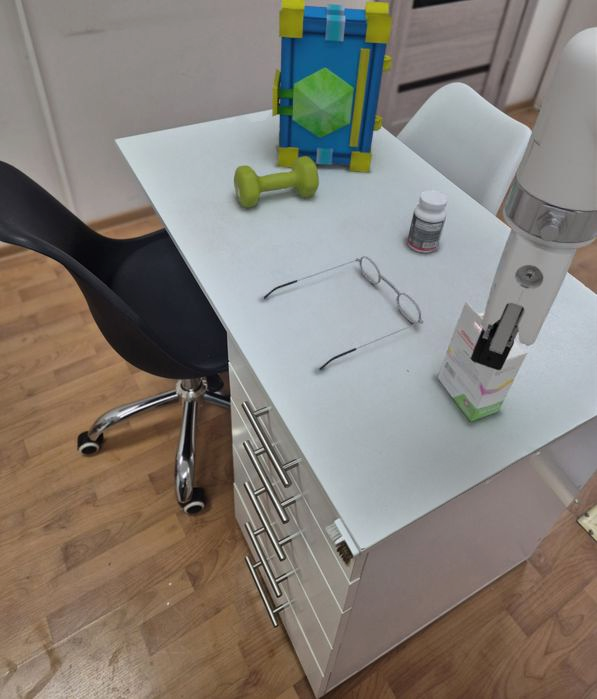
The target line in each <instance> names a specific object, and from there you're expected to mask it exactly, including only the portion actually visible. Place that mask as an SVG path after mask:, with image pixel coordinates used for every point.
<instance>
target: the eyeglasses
mask: <svg viewBox="0 0 597 699" xmlns="http://www.w3.org/2000/svg"><path fill="white" fill-rule="evenodd" d="M363 259H366V260H368V262H370V263H371V264H372V265H373V267H374V268H375V270H376V272H377V275H378V279H377V282H376V281H373V280H371V279H370V277H369V276H368V275H367V274H366V272H365V270H364V268H363V264H362V262H363ZM354 262H358V265H359V269H360V271H361V273H362V275H363V277H364V278H365V279H366V280H367V281H368V282H370V283H371V284H373V285H378V284H380V282H381V280H382V281H383V282H384V283H385V284H387V286H389V287H390V288H391V289H392V290H393V291H394V293H395V294H397V296H396V305H397V308H398V309H399V311H400V313H401V315H402V316H403V317H404V318H405V319H406V320H407V321H409V322H410V323H412V325H409V326H406V327H404V328H402V329H399V330H397V331H394V332H392V333H389V334H387V335H384V336H383V337H380V338H378V339H375V340H373V341H370V342H368V343H365V344H364V345H363V344H362V345H361V346H358V347H354V348H352V349H349V350H347V351H344V352H342V353H339V354H337V355H335V356H333V357H332V358H330V359H329V360H327V361H326V362H325V363H324V364H323V365H322V366H320V368H318V370H319V371H322V370H324V368H325V367H326V366H328V365H329V364H330V363H332V362H333V361H334V360H336V359H339V358H341V357H343V356H346V355H348V354H350V353H353V352H355V351H357V350H358V349H361V348H363V347H366V346H367V345H370V344H372V343H375V342H377V341H380V340H383V339H385V338H387V337H389V336H392V335H394V334H396V333H399V332H402V331H404V330H406V329H409V328H411V327H413V326H416V325H418V324H419V325H420V324H421V325H422V324H424V320H423V319H422V311H421V309H420V307H419V305H418V303H417V302H416V301H415V300H414V299H413V298H412V297H411V296H410V295H409V294H407V293H405V292H400V290H399V289H398V288H397V287H396V286H395V285H394V284H393V283H392V282H391V281H390V280H388V278H386V277H385V276H384V275H383V274H381V271H380V269H379V266H377V263H375V261H373V260H372V259H371V258H370V257H369V256H364V255H363V256H361V257H356V259H355V260H352V261H349V262H346V263H343V264H340V265H337V266H335V267H332V268H329V269H326V270H323V271H320V272H317V273H315V274H312V275H309V276H305V277H302V278H300V279H295V280H292V281H288V282H286V283H283V284H281V285H278V286H276V287H274V288H273V289H271V290H269V292H268V293H266V294H265V295H264V296H263V299H264V300H266V299H267V298H268V297H269V296H270V295H271V294H272V293H274V292H275V291H277V290H279V289H282V288H284V287H287V286H291V285H293V284H295V283H298V282H300V281H302V280H305V279H309V278H311V277H314V276H316V275H319V274H323V273H325V272H328V271H331V270H334V269H337V268H339V267H342V266H345V265H348V264H350V263H354ZM402 295H403V296H405V297H406V298H407V299H408V300H410V302H411V303H412V304H413V305H414V307H415V308H416V310H417V313H418V319H417V321H414V320H412V318H410V317H409V316H408V315H407V314H406V313H405V311H404V310H403V308H402V306H401V303H400V297H401V296H402Z"/></svg>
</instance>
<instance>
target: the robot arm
mask: <svg viewBox="0 0 597 699" xmlns="http://www.w3.org/2000/svg"><path fill="white" fill-rule="evenodd" d="M549 82H550V83H549V85H548V87H547V90H546V92H545V96H544V98H543V101H542V104H541V107H540V109H539V112H538V114H537V117H536V120H535V123H534V125H533V128H532V131H531V134H530V136H529V139H528V141H527V145H526V146H525V149H524V153H523V155H522V158H521V161H520V163H519V166H518V169H517V171H516V173H515V176H514V179H513V182H512V184H511V186H510V187H511V188H510V190H509V193H508V196H507V198H506V201H505V204H504V206H503V209H502V217H503V220H504V222H505V223H506V225H508V227H509V228H510V229H511V230H510V231H509V235H508V237H507V240H506V242H505V245H504V248H503V251H502V253H501V256H500V259H499V262H498V265H497V267H496V271H495V275H494V277H493V280H492V284H491V287H490V291H489V294H488V297H487V301H486V306H485V308H484V311H483V312H484V316H483V320H482V324H481V325H482V331H481V333H480V336H479V338H478V340H477V343H476V345H475V348H474V350H473V353H472V356H471V360H472V361H473V362H476V363H479V364H481V365H484V366H487V367H490V368H493V369H496V370H501V369H502V367H503V365H504V363H505V361H506V359H507V357H508V355H509V353H510V351H511V348H512V346H513V344H514V339H515V340H516V337H517V335H518V340H519V344H521V345H525V346H527V347H529V346H532V345H534V344H535V343H536V341H537V339H538V336H539V334H540V332H541V330H542V328H543V325H544V323H545V321H546V319H547V317H548V315H549V313H550V310H551V309H552V306H553V304H554V303H555V300H556V298H557V296H558V294H559V292H560V289H561V287H562V286H563V283H564V281H565V278H566V277H567V274H568V272H569V269H570V268H571V264H572V262H573V259H574V257H575V254H576V252H577V249H580V248H583V247H587V246H589V245H591V244H593V242H594V241H596V239H597V26H594V27H589V28H585V29H583V30H581V31H579V32H577V33H576V34H575V35H574V36H572V37H571V38H570V39H569V40H568V42H567V43H566V44H565V46H564V48H563V49H562V52H561V54H560V56H559V59H558V60H557V63H556V65H555V69H554V71H553V74H552V76H551V80H550V81H549Z"/></svg>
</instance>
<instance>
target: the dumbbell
mask: <svg viewBox="0 0 597 699" xmlns="http://www.w3.org/2000/svg"><path fill="white" fill-rule="evenodd" d="M233 185H234V193H235V196H236V199H237V200H238V202H239V203H240V205H241V206H242V207H243V208H245V209H249V208H253V207H255V206H256V205H257V204H258V202H259V200H260V197H261V194H262V193H266V192H274V191H279V190H286V189H290V188H294V189H295V191H296V192H297V194H298V195H300V196H301V197H302V198H311V197H312V196H315V194H316V192H317V191H318V189H319V185H320V177H319V170H318V166H317V164H316V163H314V162H313V161H312V159H311V158H309V157H308V156H303V157H299V158H298V159H297V160H296V161H295V163H294V165H293V167H291V171H286V172H285V171H284V172H277V173H276V172H275V173H269V174H266V175H261V176H260V175H258V174H257V173H256V172H255V170H254V168H252V167H251V166H249V165H238V166H237V167H236V168H235V170H234V176H233Z"/></svg>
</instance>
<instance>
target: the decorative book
mask: <svg viewBox="0 0 597 699" xmlns="http://www.w3.org/2000/svg"><path fill="white" fill-rule="evenodd" d="M389 4H390V3H389V2H381V1H367V0H366V1H365V8H364V9H363V8H362V9H360V8H345V6H346V5H345V4H335V3H326V6H316V5H315V6H313V5H306V0H281V9H279V10H278V12H279V14H278V21H279V22H278V37H280V41H281V42H280V43H281V44H280V70H279V69H277V68H276V69H275V74H274V79H273V84H272V106H271V107H272V108H271V109H272V110H271V111H272V112H271V114H272V116H271V117H276V116H278V115H279V127H278V128H279V129H278V145H277V146H278V147H277V167H279V168H293V165H294V163H295V161H296V160H297V159H298V158H299V157H303V156H308V157H309V158H311V159H312V161H313V162H314V163H315V164H316V165H327V166H331V165H345V166H346V165H348V166H349V172H359V173H370V169H371V162H372V155H373V150H372V144H373V138H374V132H378V131H379V130H381V129H382V124H383V120H384V119H383V117H381V116H380V115H378V114H377V111H378V105H379V104H378V103H379V96H380V90H381V83H382V78H383V77H382V76H383V73H387V72H390V70H391V69H392V62H393V57H391V56H389V55H388V54H386V50H387V44H388V45H389V42H390V37H391V31H392V24H393V16H389V14H390V13H389V12H390V11H389V9H390V8H389Z"/></svg>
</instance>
